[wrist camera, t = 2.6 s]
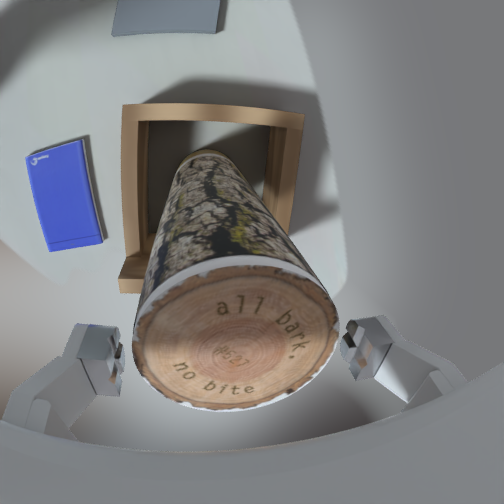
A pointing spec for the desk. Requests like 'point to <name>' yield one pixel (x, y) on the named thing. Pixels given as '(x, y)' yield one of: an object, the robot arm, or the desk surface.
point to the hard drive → (64, 196)
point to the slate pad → (165, 17)
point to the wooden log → (228, 298)
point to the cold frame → (138, 115)
